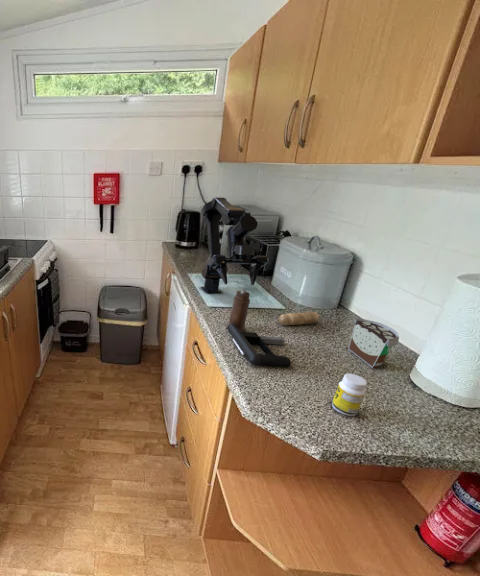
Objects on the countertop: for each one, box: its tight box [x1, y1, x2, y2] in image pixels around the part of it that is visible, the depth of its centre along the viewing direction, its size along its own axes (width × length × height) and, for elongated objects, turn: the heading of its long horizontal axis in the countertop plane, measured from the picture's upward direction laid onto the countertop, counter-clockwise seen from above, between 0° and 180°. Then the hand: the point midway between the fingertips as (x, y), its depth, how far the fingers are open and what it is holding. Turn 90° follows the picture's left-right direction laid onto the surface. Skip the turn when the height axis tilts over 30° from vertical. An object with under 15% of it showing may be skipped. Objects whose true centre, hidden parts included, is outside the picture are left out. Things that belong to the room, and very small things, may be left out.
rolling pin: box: [278, 311, 320, 327], centre depth 109 cm, size 15×4×4 cm, turn 100°
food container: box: [347, 318, 400, 369], centre depth 89 cm, size 12×6×10 cm, turn 179°
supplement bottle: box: [331, 373, 368, 417], centre depth 70 cm, size 5×5×8 cm
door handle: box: [225, 323, 292, 368], centre depth 95 cm, size 3×20×16 cm
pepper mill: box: [228, 289, 251, 332], centre depth 104 cm, size 5×5×14 cm
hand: (239, 284), depth 109 cm, fingers open, 9 cm apart
